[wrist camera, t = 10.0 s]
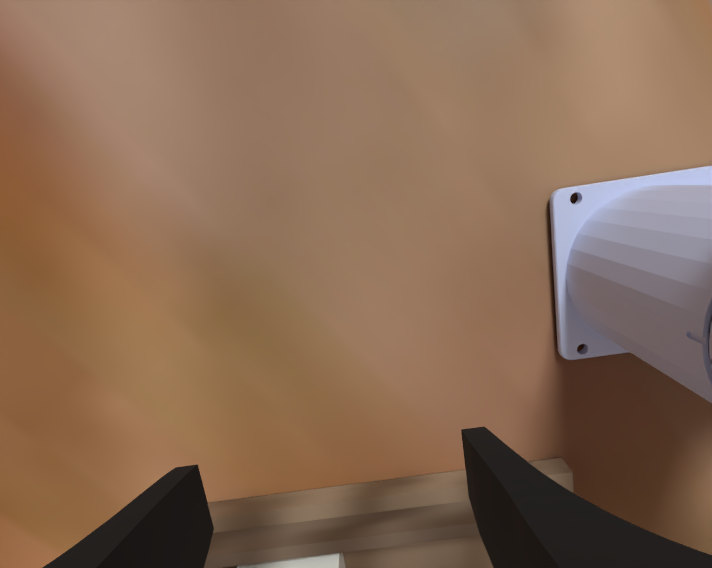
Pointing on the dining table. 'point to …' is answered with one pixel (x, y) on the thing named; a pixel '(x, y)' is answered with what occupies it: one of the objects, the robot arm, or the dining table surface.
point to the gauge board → (361, 523)
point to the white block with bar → (303, 562)
